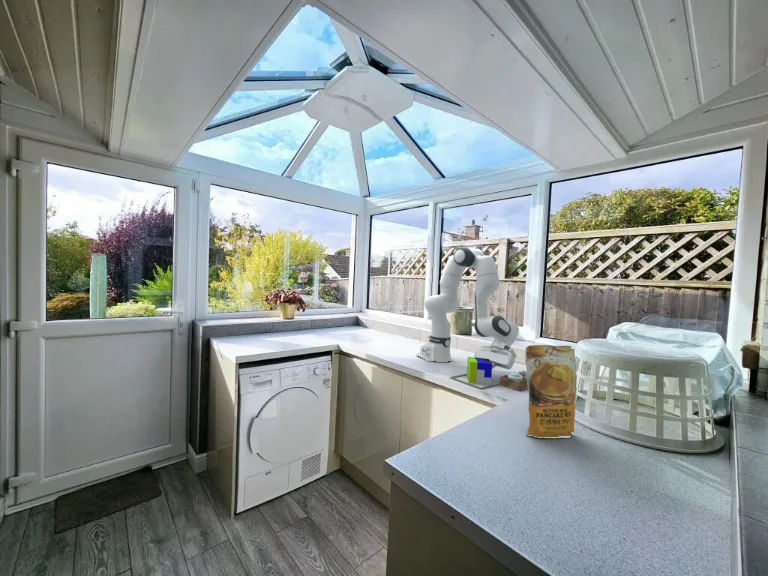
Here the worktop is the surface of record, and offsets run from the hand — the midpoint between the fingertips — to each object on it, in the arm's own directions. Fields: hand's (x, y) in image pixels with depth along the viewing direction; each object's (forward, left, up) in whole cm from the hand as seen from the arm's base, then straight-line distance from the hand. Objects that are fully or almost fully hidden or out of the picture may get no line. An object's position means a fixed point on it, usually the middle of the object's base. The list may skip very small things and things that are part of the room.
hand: (486, 370), depth 157 cm
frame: (-1, -6, -4) cm, 8 cm away
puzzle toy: (0, -5, -5) cm, 7 cm away
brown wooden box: (+13, +7, -4) cm, 16 cm away
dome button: (+14, +3, -1) cm, 14 cm away
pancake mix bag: (+46, -31, -5) cm, 56 cm away
